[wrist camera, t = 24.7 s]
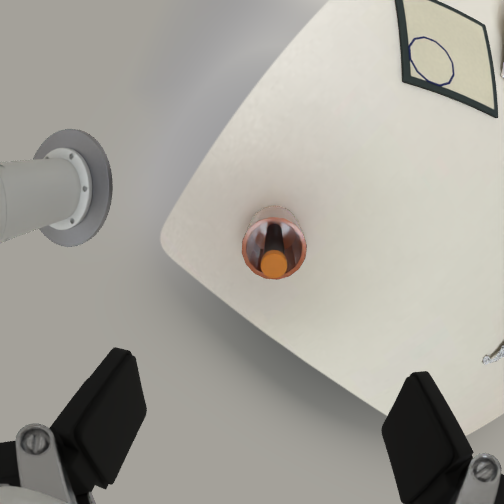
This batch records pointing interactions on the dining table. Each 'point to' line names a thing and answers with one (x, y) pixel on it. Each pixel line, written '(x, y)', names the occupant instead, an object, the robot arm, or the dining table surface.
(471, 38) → the drawing mat
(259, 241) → the pen cup
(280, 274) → the marker
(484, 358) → the paper
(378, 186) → the dining table surface
